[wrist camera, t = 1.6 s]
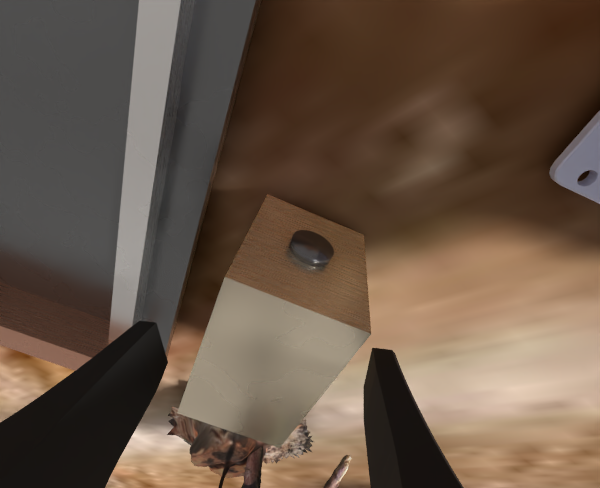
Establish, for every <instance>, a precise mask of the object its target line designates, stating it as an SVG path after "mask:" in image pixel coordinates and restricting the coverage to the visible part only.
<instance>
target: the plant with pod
mask: <svg viewBox="0 0 600 488" xmlns="http://www.w3.org/2000/svg"><path fill="white" fill-rule="evenodd" d="M178 409H179V408H176V407H173V406H172V411H171V412H170V414H169V415H168V416H171V417H174V418H173V419H171V420H170V421H169V422H170V423H171V424H172V425H173V426H174V428H173V429H172V430H171V431H170V432H169V433H168V434H167V435H177V436H179V437H180V438H182V439H184V441H185V440H186V441H185V442H187V443H188V444H190V445H191V447H190V454H191V462H192V463H193V464H194V465H195V466H202V467H207V466H209V468H210V470H211V471H212V472H214V473H216V474H219V475H220V476H221V480H220V484H219V488H222V485H223V481H224V478H225V477H226V478H229V477H239V476H244V483H243V485H242V488H260V483H261V467H262V461H264V462H265V463H270V460H271V462H274V461H275V462H276V463H277V462H278V461H280V458H281V459H283V458H282V456H283V457H285V458H287V457H288V456H289V455H290V456H291V457H293V458H294V456H293V455H295V456H297V457H298V455H297V454H301V455H303V452H306V453H307V451H306V450H308V451H310V452H312V451H311V450H310V449H309V448H310V447H311V446H312V445H311V443H310V442H313V441H312V440H311V439H310V438H311V437H312V436H309V437H308V435H309V433H310V432H309V431H308V430H307V426H306V420H302V421H301V422H300V423H299V425H298V426H297V427H296V428H295V430H294V431H293V432H292V433H291V435H290V436H289V437H288V438H287V440H286V441H285V442H284V443H283V445H282V446H281V447H280V448H278V447H275V446H272V445H269V444H266V443H263V442H260V441H257V440H255V439H252V438H249V437H246V436H243V435H240V434H237V433H234V432H231V431H228V430H225V429H222V428H219V427H216V426H213V425H210V424H207V423H205V422H202V421H199V420H196V419H193V418H190V417H187V416H184V415H181V414H178V413H177V412H178ZM305 449H306V450H305ZM350 460H351V456H350V455H346V456H345V457H343V459H342V460H341V462H340V464H339V465H338V467H337V468H336V469H335V470H334V472H333V474H332V476H331V477H330V479H329V480H328V481H327V483H326V484H325V486H324V488H338V487H339V484H340V481H341V479H342V477H343V476H344V475H345V473H346V471H347V469H348V466H349V463H350ZM272 464H273V463H272Z"/></svg>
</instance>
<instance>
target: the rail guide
mask: <svg viewBox="0 0 600 488" xmlns="http://www.w3.org/2000/svg"><path fill="white" fill-rule="evenodd" d="M260 4H261V0H0V345H2V346H5V347H8V348H11V349H14V350H17V351H20V352H23V353H25V354H28V355H31V356H34V357H37V358H40V359H43V360H46V361H49V362H52V363H55V364H58V365H60V366H63V367H66V368H69V369H72V370H75V371H76V370H77V369H78V368H80V367H81V366H82V365H84V364H85V363H86V362H87V361H89V360H90V359H91V358H93V357H94V356H95V355H96V354H98V353H99V352H100V351H102V350H103V349H104V348H105V347H107V346H108V345H109V344H110V343H112V342H113V341H114V340H115V339H117V338H118V337H119V336H120V335H122V334H123V333H124V332H125V331H127V330H128V329H129V328H130V327H132V326H133V325H134V324H136V323H137V322H138V321H147V322H156V323H157V326H158V330H159V333H160V336H161V340H162V343H163V347H164V350H165V354H166V357H167V356H168V352H169V348H170V345H171V341H172V337H173V333H174V329H175V326H176V322H177V318H178V314H179V311H180V307H181V303H182V299H183V295H184V292H185V288H186V284H187V280H188V276H189V273H190V269H191V265H192V261H193V258H194V254H195V250H196V246H197V242H198V239H199V235H200V231H201V227H202V224H203V220H204V216H205V212H206V208H207V205H208V201H209V197H210V193H211V190H212V186H213V182H214V178H215V174H216V171H217V167H218V163H219V159H220V155H221V152H222V148H223V144H224V140H225V137H226V133H227V129H228V125H229V121H230V118H231V114H232V110H233V106H234V103H235V99H236V95H237V91H238V87H239V84H240V80H241V76H242V72H243V69H244V65H245V61H246V57H247V53H248V50H249V46H250V42H251V38H252V34H253V31H254V27H255V23H256V19H257V16H258V12H259V8H260Z"/></svg>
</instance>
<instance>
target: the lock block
mask: <svg viewBox="0 0 600 488" xmlns="http://www.w3.org/2000/svg"><path fill="white" fill-rule="evenodd" d="M370 335H371V326H370V312H369V298H368V284H367V270H366V256H365V242H364V235H363V234H360V233H358V232H356V231H353V230H351V229H349V228H346V227H344V226H341V225H339V224H337V223H334V222H332V221H330V220H327V219H325V218H322V217H320V216H318V215H315V214H313V213H311V212H308V211H306V210H304V209H301V208H299V207H296V206H294V205H292V204H289V203H287V202H285V201H282V200H280V199H278V198H275V197H273V196H270V195H268V194H267V196H266V198H265V200H264V202H263V204H262V206H261V208H260V210H259V212H258V214H257V216H256V218H255V219H254V221H253V223H252V225H251V227H250V229H249V231H248V233H247V235H246V237H245V239H244V241H243V243H242V244H241V246H240V248H239V250H238V252H237V254H236V256H235V258H234V260H233V262H232V264H231V266H230V268H229V270H228V271H227V273H226V275H225V277H224V280H223V283H222V286H221V289H220V292H219V295H218V297H217V300H216V303H215V306H214V309H213V312H212V315H211V317H210V320H209V323H208V326H207V329H206V332H205V335H204V337H203V340H202V343H201V346H200V349H199V352H198V355H197V358H196V360H195V363H194V366H193V369H192V372H191V375H190V378H189V380H188V383H187V386H186V389H185V392H184V395H183V398H182V400H181V403H180V406H179V409H178V412H177V413H178V414H181V415H184V416H187V417H190V418H193V419H196V420H199V421H202V422H205V423H207V424H210V425H213V426H216V427H219V428H222V429H225V430H228V431H231V432H234V433H237V434H240V435H243V436H246V437H249V438H252V439H255V440H257V441H260V442H263V443H266V444H269V445H272V446H275V447H278V448H280V447H281V446H282V445H283V443H284V442H285V441H286V440H287V438H288V437H289V436H290V435H291V433H292V432H293V431H294V430H295V428H296V427H297V426H298V425H299V423H300V422H301V421H302V420H303V418H304V417H305V416H306V415H307V413H308V412H309V411H310V410H311V408H312V407H313V406H314V405H315V403H316V402H317V401H318V400H319V398H320V397H321V396H322V395H323V393H324V392H325V391H326V390H327V388H328V387H329V386H330V385H331V383H332V382H333V381H334V380H335V378H336V377H337V376H338V375H339V373H340V372H341V371H342V370H343V368H344V367H345V366H346V365H347V363H348V362H349V361H350V360H351V358H352V357H353V356H354V355H355V353H356V352H357V351H358V350H359V348H360V347H361V346H362V345H363V343H364V342H365V341H366V340H367V338H368V337H369V336H370Z"/></svg>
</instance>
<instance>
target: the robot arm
mask: <svg viewBox="0 0 600 488" xmlns="http://www.w3.org/2000/svg"><path fill="white" fill-rule="evenodd" d="M588 170H589V174H588V176H587V177H586V178H585V179H584V180H582V181H578V182H577V179H578V177H579V176H580V175H581V174H582V173H583V172H585V171H588ZM549 174H550V177H551V179H552V180H554V181H555V182H556V183H558V184H559V185H561V186H563V187H565V188H567V189H569V190H571V191H573V192H575V193H578V194H580V195H582V196H584V197H586V198H588V199H590V200H592V201H595V202H597V203H599V204H600V110H599V112H598V113H597V114H596V115H595V116H594V117H593V118H592V119H591V121H590V122H589V123H588V124H587V125H586V126H585V127H584V129H583V130H582V131H581V132H580V133H579V134H578V135H577V136H576V138H575V139H574V140H573V141H572V142H571V143H570V144H569V145H568V147H567V148H566V149H565V150H564V151H563V152H562V153H561V155H560V156H559V157H558V158H557V159H556V160H555V161H554V163H553V164H552V166H551V167H550V172H549ZM167 363H168V361H167V357H166V354H165V350H164V347H163V343H162V340H161V336H160V333H159V330H158V326H157V323H156V322H147V321H138V322H137V323H136V324H134V325H133V326H132V327H130V328H129V329H128V330H127V331H125V332H124V333H123V334H122V335H120V336H119V337H118V338H117V339H115V340H114V341H113V342H112V343H110V344H109V345H108V346H107V347H105V348H104V349H103V350H102V351H100V352H99V353H98V354H96V355H95V356H94V357H93V358H91V359H90V360H89V361H87V362H86V363H85V364H84V365H82V366H81V367H80V368H78V369H77V370H76V371H74V372H73V373H72V374H70V375H69V376H68V377H66V378H65V379H64V380H62V381H61V382H59V383H58V384H57V385H55V386H54V387H52V388H51V389H50V390H48V391H47V392H46V393H44V394H43V395H41V396H40V397H39V398H37V399H36V400H34V401H33V402H31V403H30V404H28V405H27V406H25V407H24V408H22V409H21V410H19V411H18V412H16V413H15V414H13V415H12V416H10V417H9V418H7V419H5V420H4V421H2V422H1V423H0V488H105V486H106V484H107V482H108V480H109V478H110V475H111V474H112V472H113V470H114V468H115V466H116V464H117V462H118V460H119V458H120V456H121V454H122V453H123V451H124V449H125V447H126V445H127V444H128V442H129V440H130V438H131V436H132V435H133V433H134V431H135V429H136V427H137V426H138V424H139V422H140V420H141V418H142V417H143V415H144V413H145V411H146V409H147V407H148V406H149V404H150V402H151V400H152V398H153V396H154V394H155V393H156V390H157V388H158V386H159V383H160V381H161V379H162V376H163V373H164V371H165V368H166V366H167ZM364 426H365V436H366V446H367V456H368V465H369V475H370V485H371V488H463V486H462V484H461V483H460V481H459V480H458V478H457V476H456V475H455V473H454V471H453V470H452V468H451V466H450V465H449V463H448V461H447V460H446V458H445V456H444V454H443V453H442V451H441V449H440V447H439V446H438V444H437V442H436V440H435V439H434V437H433V435H432V433H431V431H430V429H429V427H428V426H427V424H426V422H425V420H424V418H423V416H422V414H421V412H420V410H419V408H418V406H417V404H416V402H415V400H414V398H413V395H412V393H411V391H410V389H409V387H408V385H407V382H406V380H405V378H404V375H403V373H402V371H401V368H400V366H399V363H398V361H397V358H396V355H395V353H394V352H393V351H392V350H387V349H378V348H372V352H371V357H370V361H369V366H368V370H367V375H366V379H365V384H364Z"/></svg>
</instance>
